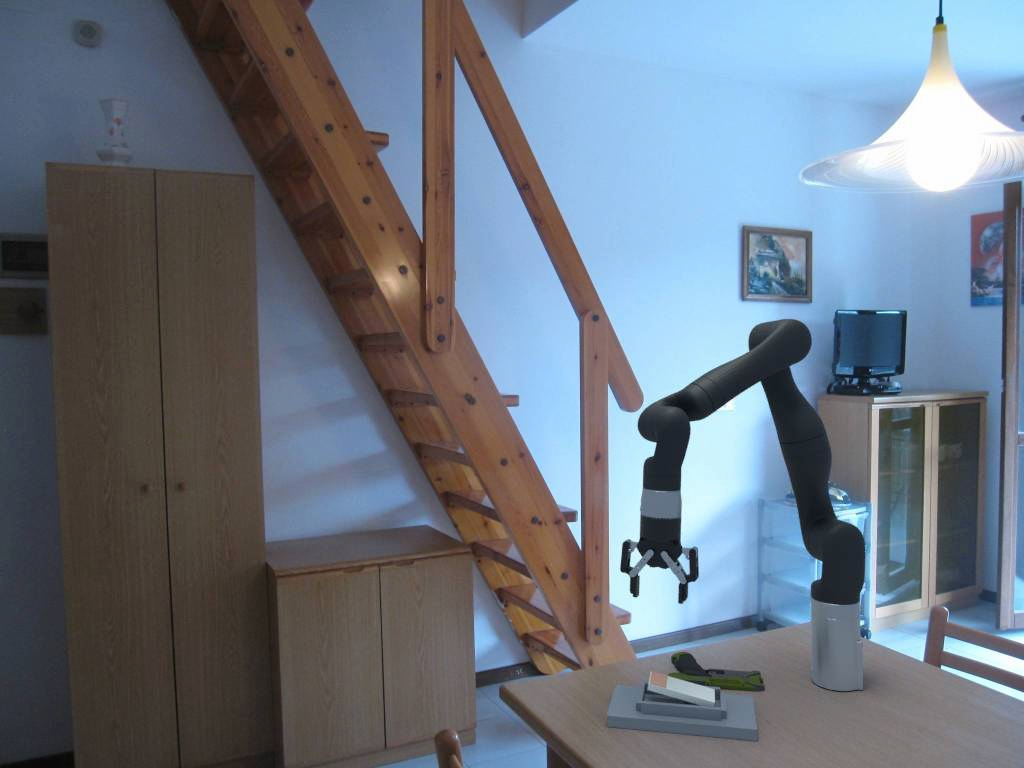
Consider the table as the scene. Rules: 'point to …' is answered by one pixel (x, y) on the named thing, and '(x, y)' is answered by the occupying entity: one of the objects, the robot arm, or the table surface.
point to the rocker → (681, 689)
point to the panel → (682, 713)
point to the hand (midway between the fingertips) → (658, 599)
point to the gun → (715, 675)
